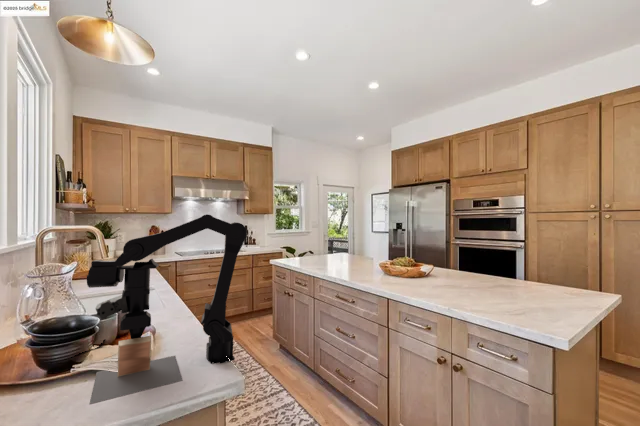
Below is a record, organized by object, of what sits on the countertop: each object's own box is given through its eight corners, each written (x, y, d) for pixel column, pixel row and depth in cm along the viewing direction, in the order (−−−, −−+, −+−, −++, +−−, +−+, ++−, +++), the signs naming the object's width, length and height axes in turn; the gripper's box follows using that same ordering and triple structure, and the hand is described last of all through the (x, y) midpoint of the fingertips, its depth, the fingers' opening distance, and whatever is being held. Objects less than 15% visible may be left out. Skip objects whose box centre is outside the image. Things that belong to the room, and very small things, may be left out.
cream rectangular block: (149, 363, 78) (150, 335, 77) (150, 369, 76) (151, 340, 75) (117, 370, 74) (118, 340, 74) (117, 377, 72) (118, 346, 71)
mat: (175, 357, 84) (175, 355, 84) (182, 382, 71) (182, 380, 71) (96, 374, 74) (96, 371, 74) (89, 407, 61) (89, 404, 61)
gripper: (102, 281, 81) (100, 338, 80) (94, 297, 65) (91, 368, 65) (149, 277, 87) (147, 330, 86) (152, 292, 71) (149, 356, 70)
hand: (134, 344), depth 77 cm, fingers closed
